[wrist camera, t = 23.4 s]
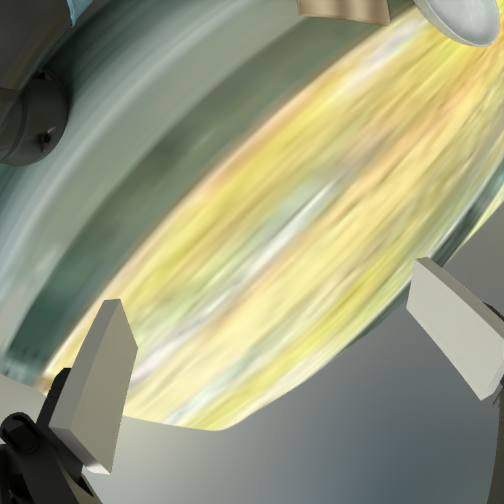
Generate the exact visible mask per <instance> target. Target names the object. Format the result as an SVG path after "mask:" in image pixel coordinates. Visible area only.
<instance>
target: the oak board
mask: <svg viewBox="0 0 504 504" xmlns="http://www.w3.org/2000/svg"><path fill="white" fill-rule="evenodd" d="M297 4H298V11H299V16H316V17H328V18H338V19H347V20H355V21H362V22H368V23H374V24H380V25H385V26H386V25H389V24H391V22H390V16H389V10H388V5H387V0H297Z"/></svg>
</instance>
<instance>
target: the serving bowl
mask: <svg viewBox="0 0 504 504" xmlns="http://www.w3.org/2000/svg"><path fill="white" fill-rule="evenodd" d="M413 1H414V2H415V4H416V6H417V7H418V8H419V10H420V11H421V13H422V14H423V15H424V16H425V17H426V19H427V20H428V21H429V22H430V23H431V24H432V25H433V26H434V27H436V28H437V29H438V30H439V31H440V32H442V33H443V34H444V35H446V36H447V37H449V38H451V39H453V40H455V41H457V42H459V43H462V44H465V45H469V46H476V47H486V46H489V45H490V44H492V43H493V42H494V41H495V40H496V38H497V36H498V33H499V29H500V16H499V10H498V6H497V3H496V0H413Z"/></svg>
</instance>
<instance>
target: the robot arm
mask: <svg viewBox="0 0 504 504" xmlns="http://www.w3.org/2000/svg"><path fill="white" fill-rule="evenodd" d="M92 1H93V0H0V163H4V164H8V165H12V166H26V165H29V164H32V163H35V162H38V161H40V160H41V159H43V158H45V157H46V156H47V155H48V154H49V153H50V152H51V151H52V150H53V149H54V148H55V146H56V145H57V143H58V142H59V140H60V138H61V136H62V134H63V131H64V128H65V125H66V121H67V115H68V98H67V93H66V90H65V87H64V85H63V83H62V81H61V80H60V79H59V77H58V76H57V75H56V74H54V73H53V72H51V71H50V70H47V69H43V68H39V67H40V65H41V64H42V62H43V61H44V60H45V58H46V57H47V56H48V54H49V53H50V52H51V50H52V49H53V48H54V46H55V45H56V44H57V43H58V41H59V40H60V39H61V38H62V37H63V35H64V34H65V33H66V32H67V31H68V29H69V28H72V27H73V26H74V25H75V23H76V20H77V19H78V18H79V16H80V15H81V14H82V13H83V12H84V11H85V10H86V8H87V7H88V6H89V5H90V4H91V3H92ZM406 308H407V310H408V311H409V312H410V313H411V314H412V315H413V317H414V318H415V319H416V320H417V321H418V322H419V324H420V325H421V326H422V327H423V328H424V329H425V331H426V332H427V333H428V334H429V335H430V336H431V338H432V339H433V340H434V341H435V343H436V344H437V345H438V346H439V347H440V349H441V350H442V351H443V352H444V353H445V355H446V356H447V357H448V358H449V359H450V361H451V362H452V363H453V365H454V366H455V367H456V368H457V370H458V371H459V372H460V373H461V375H462V376H463V377H464V379H465V380H466V381H467V383H468V384H469V385H470V387H471V388H472V389H473V391H474V392H475V393H476V395H477V396H478V397H479V399H480V400H482V399H484V398H486V397H487V396H489V395H491V394H492V393H494V391H495V389H496V388H497V386H498V384H499V382H500V383H501V384H502V385H503V388H502V390H501V391H500V393H499V394H498V396H497V398H496V399H495V401H494V402H493V407H495V405H496V404H497V402H498V401H499V400H500V404H499V405H498V408H500V415H499V430H498V441H497V450H496V458H495V465H494V471H493V477H492V483H491V488H490V493H489V497H488V501H487V504H504V317H503V316H502V315H500V313H499V312H498V311H497V310H495V309H494V308H493V307H492V306H490V305H488V304H486V303H484V302H481V301H480V300H479V299H478V298H477V297H476V296H475V295H473V294H472V293H471V292H470V291H469V290H468V289H466V288H465V287H464V286H463V285H462V284H460V283H459V282H458V281H457V280H456V279H454V278H453V277H452V276H451V275H450V274H448V273H447V272H446V271H445V270H443V269H442V268H441V267H440V266H438V265H437V264H436V263H435V262H433V261H432V260H431V259H429V258H428V257H424V258H418V259H415V263H414V269H413V275H412V281H411V287H410V292H409V297H408V303H407V307H406ZM137 351H138V347H137V345H136V342H135V339H134V337H133V334H132V331H131V329H130V326H129V323H128V320H127V318H126V315H125V312H124V309H123V306H122V303H121V300H120V299H113V300H104V302H103V304H102V306H101V308H100V309H99V311H98V313H97V315H96V317H95V319H94V321H93V323H92V325H91V327H90V330H89V332H88V334H87V336H86V338H85V340H84V342H83V344H82V346H81V348H80V351H79V353H78V355H77V357H76V359H75V362H74V364H73V366H72V368H63V369H62V370H61V372H60V373H59V374H58V375H57V376H56V377H55V379H54V381H53V383H52V386H51V390H49V393H48V395H47V398H46V400H45V402H44V404H43V407H42V409H41V412H40V414H39V417H38V419H37V422H36V424H35V423H34V422H33V420H32V419H31V418H30V417H29V416H28V415H27V414H25V413H23V412H17V413H14V414H11V415H9V416H8V417H7V418H5V420H4V421H3V422H2V424H1V426H0V438H1V439H2V440H3V441H4V442H5V443H6V444H0V504H102V502H101V501H100V499H99V498H98V496H97V495H96V493H95V492H94V490H93V489H92V487H91V485H90V484H89V482H88V480H87V479H86V477H85V476H84V475H83V474H82V473H81V472H82V467H83V465H84V466H85V467H87V468H88V469H89V470H90V471H91V472H94V473H102V474H111V470H112V465H113V458H114V453H115V448H116V442H117V437H118V432H119V427H120V422H121V418H122V413H123V408H124V404H125V399H126V395H127V391H128V386H129V382H130V378H131V374H132V370H133V366H134V362H135V358H136V354H137Z"/></svg>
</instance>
